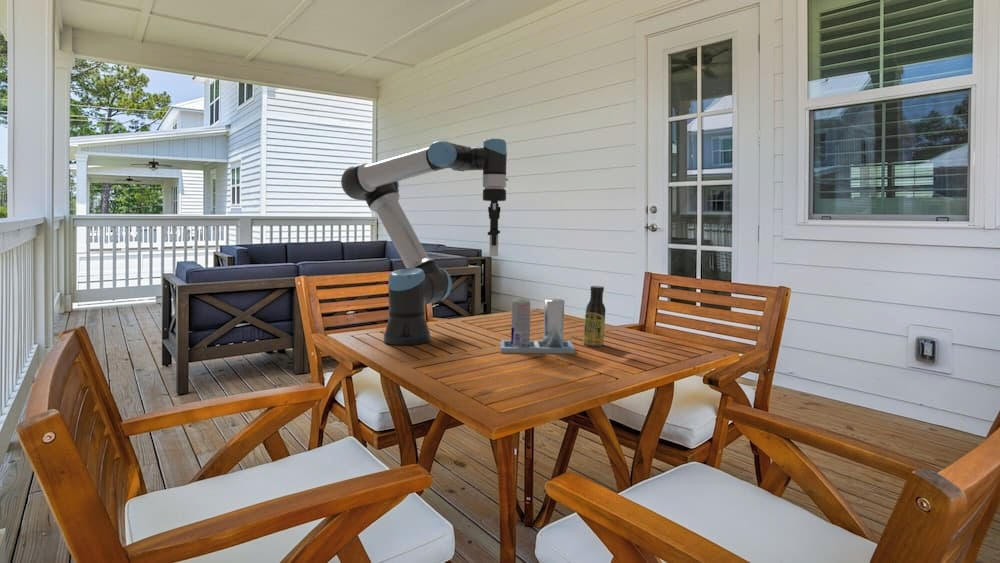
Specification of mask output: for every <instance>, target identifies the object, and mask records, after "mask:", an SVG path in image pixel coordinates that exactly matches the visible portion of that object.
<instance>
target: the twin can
mask: <svg viewBox="0 0 1000 563" xmlns="http://www.w3.org/2000/svg"><path fill="white" fill-rule="evenodd" d="M543 307H544V308H543V333H542V334H543V335H542V336H543V339H542V341H543V347H548V348H563V341H564V328H565V327H564V324H565V321H564V320H565V299H561V298H545V299H544V306H543Z"/></svg>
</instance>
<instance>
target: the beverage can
mask: <svg viewBox="0 0 1000 563" xmlns="http://www.w3.org/2000/svg"><path fill="white" fill-rule="evenodd" d="M510 326H511V329H510V330H511V332H510V333H511V334H510V335H511V337H510V340H511V347H530V341H531V340H530V338H531V334H530V333H531V300H530V299H525V298H524V299H523V298H521V299H520V298H519V299H518V298H516V299H515V298H514V299H512V300H511V324H510Z"/></svg>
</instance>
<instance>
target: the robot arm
mask: <svg viewBox="0 0 1000 563" xmlns="http://www.w3.org/2000/svg"><path fill="white" fill-rule="evenodd" d="M482 142H483V143H482V145H481V146H466V145H460V144H457V143H452V142H449V141H446V140H437V141H434V142H432V144H431V145H429V146H428V147H425V148H422V149H418V150H414V151H411V152H409V153H404V154H402V155H398V156H395V157H394V156H393V157H390V158H388V159H384V160H380V161H378V162H375V163H371V164H370V163H368V162H362V163H360V164H356V165H355V164H354V165H352V166H349V167H348V168H346V170H344V172H343V173H342V175H341V178H340V180H341V181H340V182H341V183H340V185H341V188H342V190H343V192H344V193H345V195H347V196H348V197H349V198H350V199H354V200H358V201H365V202H366V204H367V206H368V208H369V209H370V211H372V212H374V213H376V214H377V216H378V217H379V219H380V221H381V224H382V225H383V228H384V229H385V231H386V232H387V235H388V236H389V238H390V240H391V242H392V244H393V246H394V248H395V249H396V252H397V253H398V255H399V256H400V259H401V260H402V262H403V264H404V266H405V268H400V269H395V270H393V271H392V272H391V273H389V275H388V283H387V288H388V321H387V323H386V328H385V331H384V333H383V342H384V343H386V344H389V345H395V346H415V345H422V344H425V343H428V342H430V340H431V331H429V327H428V323H427V320H426V317H425V316H426V313H425V311H426V310H425V308H426V307H425V306H427V305H430V304H435V303H439V302H441V301H444V300H445V299H447V297H448V296H449V295H450V293H451V289H452V288H453V287H452V285H453V284H452V283H453V281H452V277H451V275H450V274H449V272H448V271H447V270H445V269H443V268H441V267H439V265H438V263H437V261H436V260H435V259H434V258H431V257H429V256H428V254H427V253H426V251H425V249H424V247H423V245H422V243H421V241H420V240H419V238H418V236H417V234H416V232H415V231H414V228H413V226H412V225H411V223H410V221H409V219H408V217H407V216H406V213H405V212H404V210H403V208H402V205H400V203H399V199H400V194H399V192H400V190H399V188H400V184H399V181H404V180H408V179H411V178H415V177H418V176H422V175H425V174H429V173H432V172H433V173H434V172H437V171H440V170H444V169H452V171H455V172H457V171H458V172H465V171H482V188H484V189H483V190H482V201H485V202H490V204H489V206H488V207H487V212H488V219H489V222H490V223H489V227H490V228H489V231H488V232H487V236H489V257H498V256H499V234H500V233H501V230H500V229H499V219H500V218H501V217H500V216H501V215H500V214H501V206H500V205H499V202H505V201H506V200H507V190H506V188H507V182H508V181H509V178H508V177H507V156H508V153H507V152H508V151H507V150H508V149H507V142H506V140H505V139H502V138H485V139H484V140H483V141H482Z"/></svg>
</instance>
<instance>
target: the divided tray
mask: <svg viewBox="0 0 1000 563" xmlns="http://www.w3.org/2000/svg"><path fill="white" fill-rule="evenodd" d="M499 345H500V346H499V347H500V348H499V349H500V354H576V348H575V346H574V345H573V343H572V341H571V340H563V348H548V347H543V340H530V347H511V339H510V340H507V339H505V340H504V339H501V340H500V344H499Z"/></svg>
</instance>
